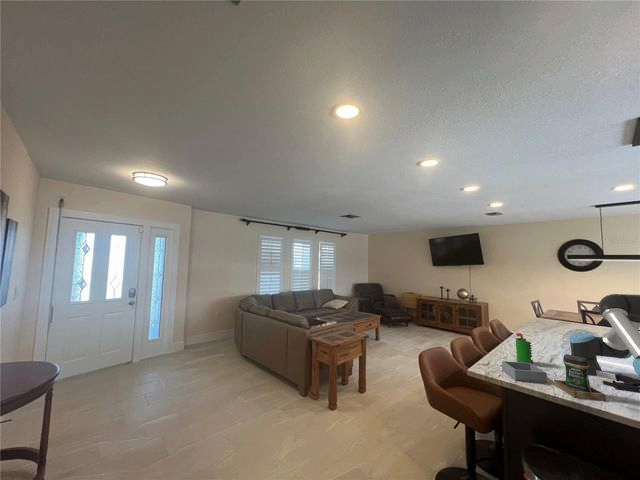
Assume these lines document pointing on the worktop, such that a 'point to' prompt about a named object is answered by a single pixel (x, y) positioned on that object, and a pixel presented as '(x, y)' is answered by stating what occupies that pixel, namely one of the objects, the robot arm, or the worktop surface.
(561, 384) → the walnut collar
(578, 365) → the coffee jar
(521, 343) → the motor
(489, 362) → the worktop surface
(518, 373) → the charcoal bin
